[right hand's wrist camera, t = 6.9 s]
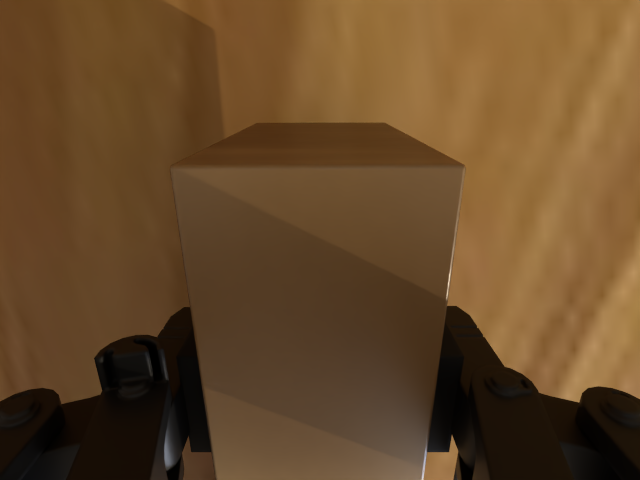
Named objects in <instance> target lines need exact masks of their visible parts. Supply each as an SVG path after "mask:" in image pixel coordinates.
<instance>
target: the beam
mask: <svg viewBox="0 0 640 480" xmlns="http://www.w3.org/2000/svg"><path fill="white" fill-rule="evenodd" d="M465 170H466V168H465V165H463V164H462V163H460V162H458V161H456V160H454V159H452V158H450V157H448V156H446V155H445V154H443V153H441V152H439V151H437V150H435V149H433V148H431V147H430V146H428V145H426V144H424V143H422V142H420V141H418V140H416V139H414V138H413V137H411V136H409V135H407V134H405V133H403V132H401V131H399V130H398V129H396V128H394V127H392V126H390V125H388V124H386V123H256V124H254V125H252V126H250V127H248V128H246V129H244V130H242V131H240V132H238V133H236V134H234V135H232V136H230V137H228V138H226V139H224V140H222V141H220V142H218V143H216V144H214V145H212V146H210V147H208V148H206V149H204V150H202V151H200V152H198V153H196V154H193V155H191V156H189V157H187V158H185V159H183V160H181V161H179V162H177V163H175V164H173V165H171V167H170V173H171V179H172V186H173V193H174V200H175V207H176V213H177V220H178V227H179V234H180V241H181V247H182V254H183V261H184V268H185V275H186V282H187V288H188V295H189V302H190V309H191V316H192V322H193V329H194V336H195V343H196V350H197V356H198V363H199V370H200V377H201V384H202V390H203V397H204V404H205V411H206V418H207V424H208V431H209V438H210V445H211V452H212V458H213V465H214V472H215V479H216V480H423V478H424V471H425V463H426V456H427V449H428V441H429V434H430V427H431V419H432V412H433V405H434V397H435V390H436V383H437V375H438V368H439V361H440V353H441V346H442V339H443V331H444V324H445V317H446V309H447V302H448V295H449V287H450V280H451V273H452V265H453V258H454V251H455V243H456V236H457V229H458V221H459V214H460V207H461V199H462V192H463V185H464V177H465Z"/></svg>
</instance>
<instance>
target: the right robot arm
mask: <svg viewBox="0 0 640 480" xmlns="http://www.w3.org/2000/svg"><path fill="white" fill-rule="evenodd" d="M94 360H95V364H96V368H97V371H98V375H99V379H100V383H101V387H102V393H101V395H98V396H95V397H91V398H87V399H83V400H78V401H74V402H69V403H65V404H61V401H60V398H59V395H58V394H57V393H56V392H55V391H54V390H51V389H45V388H39V389H31V390H27V391H23V392H21V393H17V394H14V395H12V396H10V397H8V398H6V399H4V400H2V401H1V402H0V480H183V475H184V463H183V457H182V451H183V449H184V446H185V443H186V441H187V438H188V436H189V440H190V446H191V452H211V445H210V438H209V431H208V424H207V418H206V411H205V404H204V397H203V390H202V384H201V377H200V370H199V363H198V356H197V350H196V343H195V336H194V329H193V322H192V316H191V309H190V307H184V308H182V309H181V310H180V311H178V312H177V313H175V314H174V315H172V316H171V317H170V319H169V320H168V322H167V323H166V325H165V326H164V329H162V331H161V332H160V334H159V335H158V338H157V337H154V336H150V335H135V336H130V337H126V338H122V339H120V340H117V341H115V342H113V343H110V344H109V345H108V346H106V347H105V348H103V349H102V350H100V352H99V353H98V354H97V355H96V357H95V358H94ZM452 435H453V438H454V441H455V443H456V446H457V448H458V457H457V463H456V468H455V474H454V480H640V399H638V398H636V397H634V396H632V395H630V394H628V393H626V392H623V391H619V390H616V389H613V388H607V387H592V388H588V389H587V390H585V391H584V392H583V393H582V396H581V399H580V402H579V403H578V402H574V401H569V400H565V399H560V398H556V397H551V396H548V395H544V394H541V393H539V392H538V390H537V388H536V387H535V386H534V384H533V383H532V381H530V380H529V379H528V378H526V377H525V376H524V375H523V374H521V373H519V372H517V371H515V370H513V369H510V368H507V367H504V365H503V364H502V362H501V361H500V359H499V358H498V356H497V355H496V353H495V352H494V351H493V349H492V348H491V346H490V345H489V343H488V342H487V340H486V339H485V337H483V334H482V333H481V331H480V330H479V328H477V325H476V324H475V323H474V321H473V320H472V318H471V317H470V315H468V314H467V313H466V312H464V311H463V310H461V309H460V308H458V307H457V306H447V309H446V317H445V324H444V331H443V339H442V346H441V353H440V361H439V368H438V375H437V383H436V390H435V397H434V405H433V412H432V419H431V427H430V434H429V441H428V449H427V452H449V448H450V442H451V436H452Z"/></svg>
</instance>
